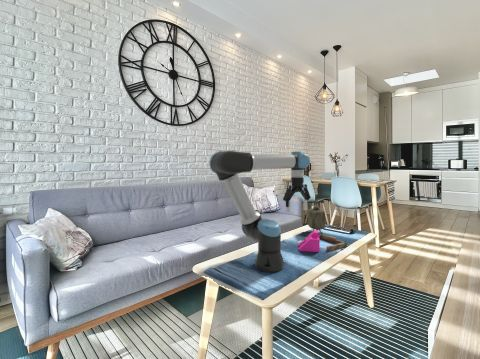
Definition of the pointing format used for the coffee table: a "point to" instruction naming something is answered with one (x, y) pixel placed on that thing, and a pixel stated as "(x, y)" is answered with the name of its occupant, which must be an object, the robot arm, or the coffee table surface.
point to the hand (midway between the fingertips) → (296, 211)
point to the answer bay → (337, 245)
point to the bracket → (311, 242)
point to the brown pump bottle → (316, 218)
